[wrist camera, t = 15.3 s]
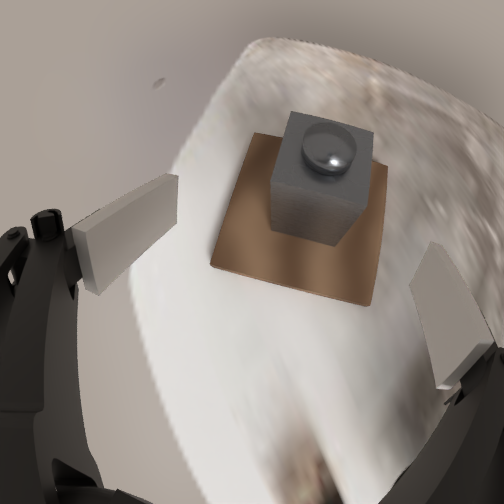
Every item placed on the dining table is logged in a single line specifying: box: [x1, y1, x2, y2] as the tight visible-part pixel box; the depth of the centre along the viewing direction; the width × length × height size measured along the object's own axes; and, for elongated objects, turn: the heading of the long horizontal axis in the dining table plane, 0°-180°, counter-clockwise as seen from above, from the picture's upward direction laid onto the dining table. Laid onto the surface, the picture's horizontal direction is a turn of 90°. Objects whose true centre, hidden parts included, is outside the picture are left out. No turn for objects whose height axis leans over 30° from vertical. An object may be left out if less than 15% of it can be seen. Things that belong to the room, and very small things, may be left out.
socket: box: [270, 111, 374, 247], centre depth 22 cm, size 6×6×11 cm
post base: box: [210, 133, 388, 306], centre depth 25 cm, size 16×16×6 cm
